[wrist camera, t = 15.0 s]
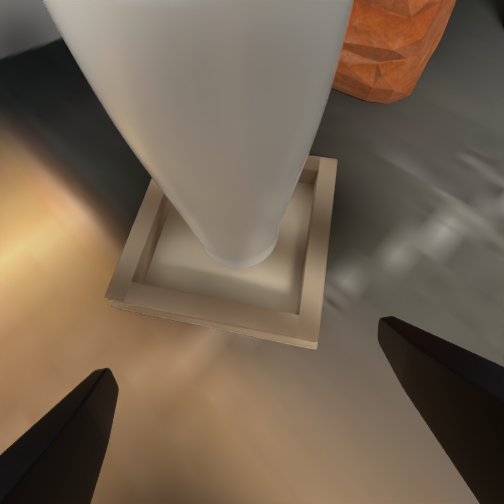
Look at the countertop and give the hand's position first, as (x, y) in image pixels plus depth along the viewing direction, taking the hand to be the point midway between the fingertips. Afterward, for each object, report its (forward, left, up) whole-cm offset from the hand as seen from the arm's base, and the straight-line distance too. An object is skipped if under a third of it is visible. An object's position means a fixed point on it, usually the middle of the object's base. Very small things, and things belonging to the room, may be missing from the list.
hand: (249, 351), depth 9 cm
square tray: (+8, +3, -8) cm, 12 cm away
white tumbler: (+7, +2, -8) cm, 11 cm away
